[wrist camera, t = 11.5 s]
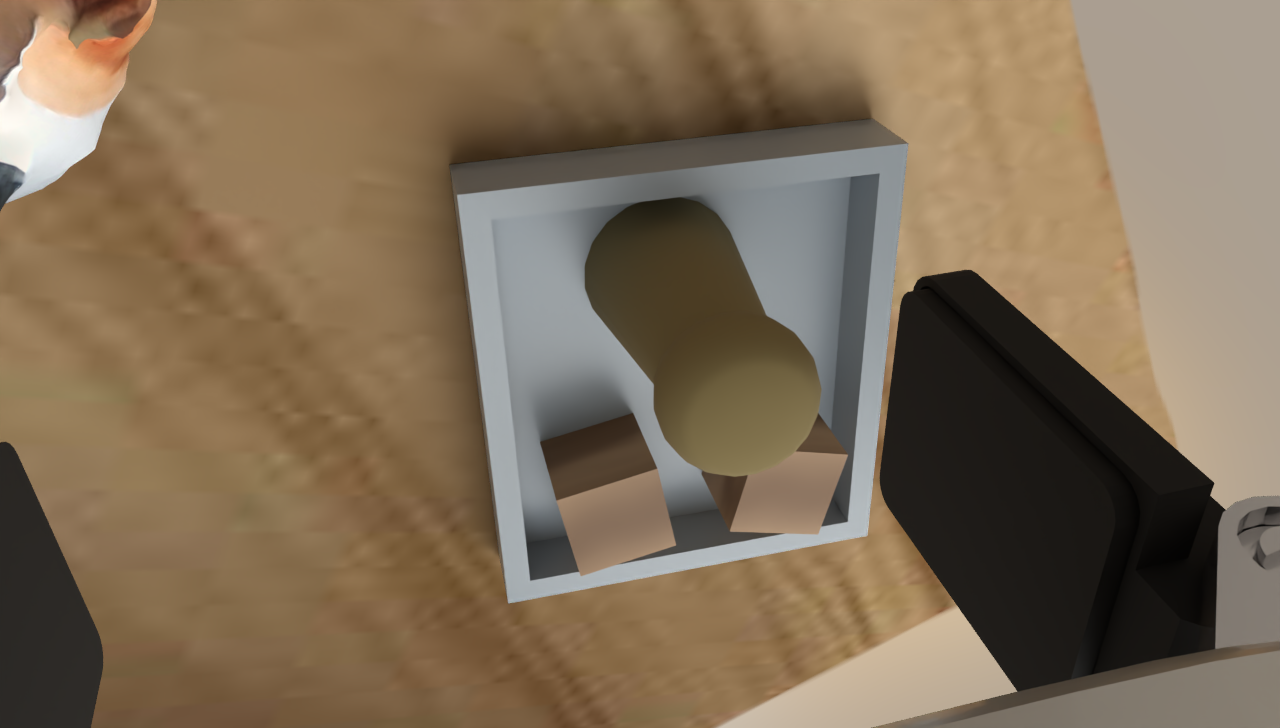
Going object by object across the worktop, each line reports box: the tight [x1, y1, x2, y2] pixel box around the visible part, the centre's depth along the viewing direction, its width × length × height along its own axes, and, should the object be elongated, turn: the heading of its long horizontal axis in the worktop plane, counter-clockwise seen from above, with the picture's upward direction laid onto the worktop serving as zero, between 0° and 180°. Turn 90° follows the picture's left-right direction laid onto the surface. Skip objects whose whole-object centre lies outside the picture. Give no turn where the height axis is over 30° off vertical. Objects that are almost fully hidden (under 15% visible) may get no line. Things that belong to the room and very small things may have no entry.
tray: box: [449, 119, 908, 603], centre depth 42 cm, size 18×16×3 cm
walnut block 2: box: [702, 413, 848, 535], centre depth 44 cm, size 4×4×4 cm
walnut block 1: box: [540, 413, 676, 576], centre depth 42 cm, size 4×4×4 cm
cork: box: [585, 197, 822, 477], centre depth 36 cm, size 6×6×11 cm
